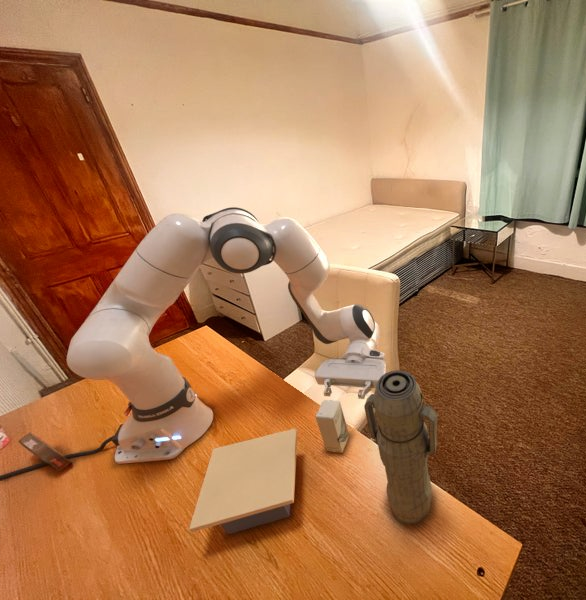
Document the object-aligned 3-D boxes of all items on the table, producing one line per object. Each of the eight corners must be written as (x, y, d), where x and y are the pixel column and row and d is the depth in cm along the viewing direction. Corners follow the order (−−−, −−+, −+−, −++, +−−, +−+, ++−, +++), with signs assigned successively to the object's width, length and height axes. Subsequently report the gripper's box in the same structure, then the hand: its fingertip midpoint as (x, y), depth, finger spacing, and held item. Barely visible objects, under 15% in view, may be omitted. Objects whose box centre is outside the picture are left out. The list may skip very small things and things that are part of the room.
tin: (77, 466, 77) (55, 446, 73) (62, 478, 75) (38, 458, 71) (50, 445, 83) (28, 425, 79) (34, 455, 81) (11, 436, 77)
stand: (209, 551, 60) (188, 529, 55) (228, 471, 73) (213, 448, 68) (304, 522, 63) (292, 499, 58) (305, 451, 76) (296, 427, 71)
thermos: (437, 530, 60) (433, 411, 41) (378, 519, 62) (349, 402, 44) (440, 483, 67) (438, 364, 49) (388, 475, 69) (367, 359, 51)
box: (342, 453, 75) (332, 419, 68) (325, 451, 75) (314, 417, 69) (349, 434, 79) (340, 400, 72) (333, 432, 80) (323, 398, 73)
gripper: (322, 350, 92) (303, 385, 81) (389, 353, 89) (379, 390, 77) (326, 365, 96) (309, 401, 84) (391, 369, 92) (382, 407, 81)
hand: (343, 396), depth 81 cm, fingers open, 8 cm apart
